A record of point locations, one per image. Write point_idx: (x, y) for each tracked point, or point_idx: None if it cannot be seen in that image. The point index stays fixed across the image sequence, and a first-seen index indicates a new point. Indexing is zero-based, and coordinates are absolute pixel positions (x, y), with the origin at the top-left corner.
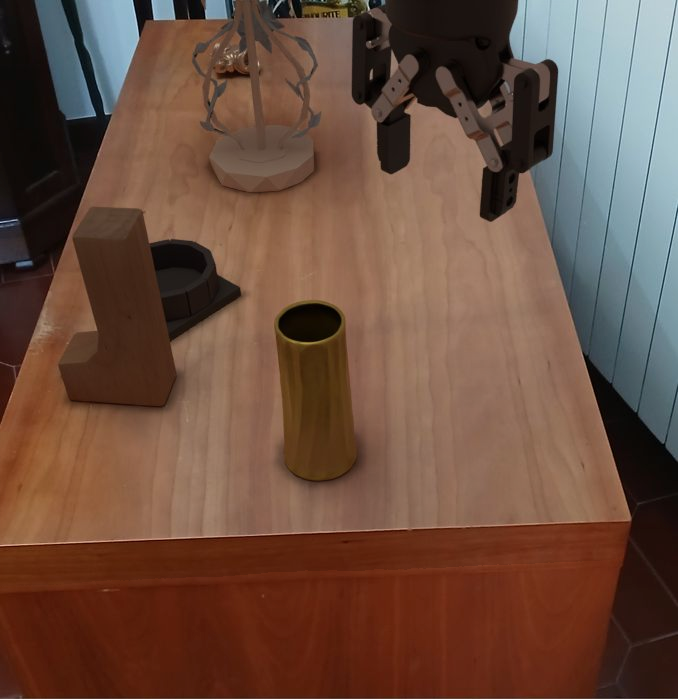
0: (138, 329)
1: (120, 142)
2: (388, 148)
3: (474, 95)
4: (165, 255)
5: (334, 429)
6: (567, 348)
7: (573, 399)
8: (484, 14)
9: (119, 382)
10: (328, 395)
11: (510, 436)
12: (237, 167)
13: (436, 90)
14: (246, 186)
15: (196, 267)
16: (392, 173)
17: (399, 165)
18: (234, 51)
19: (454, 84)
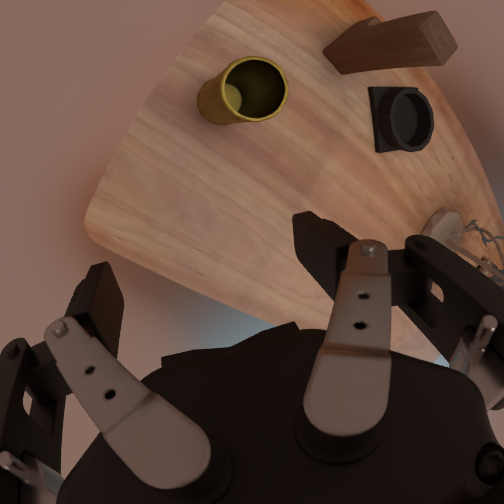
0: (363, 36)
1: (486, 187)
2: (313, 231)
3: (102, 435)
4: (422, 133)
5: (205, 96)
6: (205, 291)
7: (166, 267)
8: None
9: (347, 34)
10: (210, 88)
11: (161, 215)
12: (446, 220)
13: (238, 385)
14: (435, 216)
15: (406, 143)
16: (292, 221)
17: (296, 238)
18: (487, 272)
19: (115, 444)
